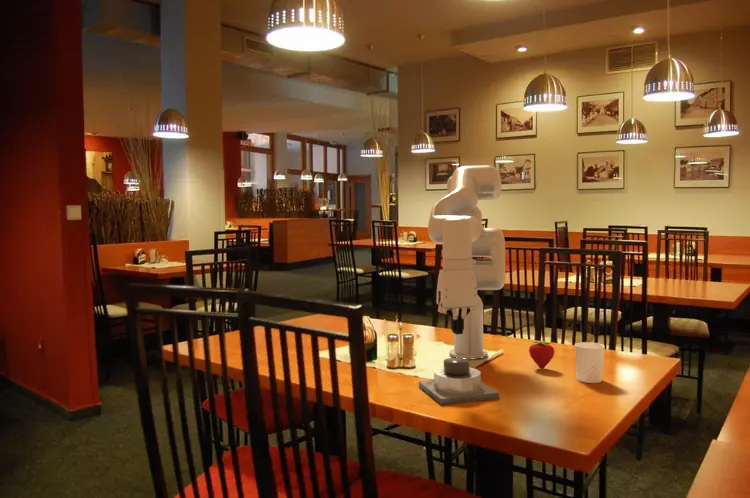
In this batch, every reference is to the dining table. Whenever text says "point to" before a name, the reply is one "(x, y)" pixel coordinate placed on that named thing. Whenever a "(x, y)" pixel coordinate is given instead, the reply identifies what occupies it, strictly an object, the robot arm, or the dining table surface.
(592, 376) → the white cup
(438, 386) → the square base disc pedestal
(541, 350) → the strawberry
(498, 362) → the dining table surface
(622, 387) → the dining table surface
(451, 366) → the cap
